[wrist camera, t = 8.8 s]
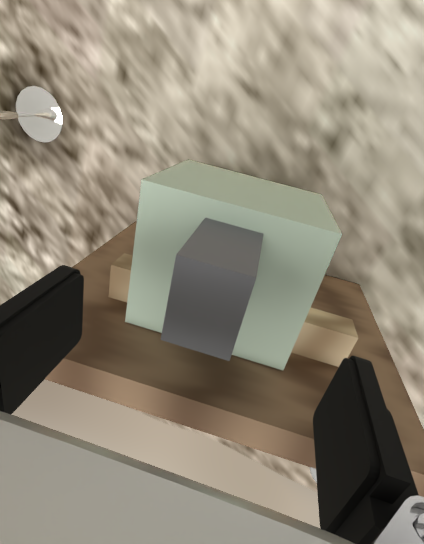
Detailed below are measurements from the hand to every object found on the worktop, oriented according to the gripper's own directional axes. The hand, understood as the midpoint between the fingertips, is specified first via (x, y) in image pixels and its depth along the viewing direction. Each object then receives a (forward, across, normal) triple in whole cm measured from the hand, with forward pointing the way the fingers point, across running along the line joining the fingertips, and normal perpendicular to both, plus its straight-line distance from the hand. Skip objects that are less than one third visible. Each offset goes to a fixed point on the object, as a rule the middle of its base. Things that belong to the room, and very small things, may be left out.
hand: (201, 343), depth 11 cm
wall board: (+22, 0, +9) cm, 24 cm away
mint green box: (+15, +1, +1) cm, 16 cm away
